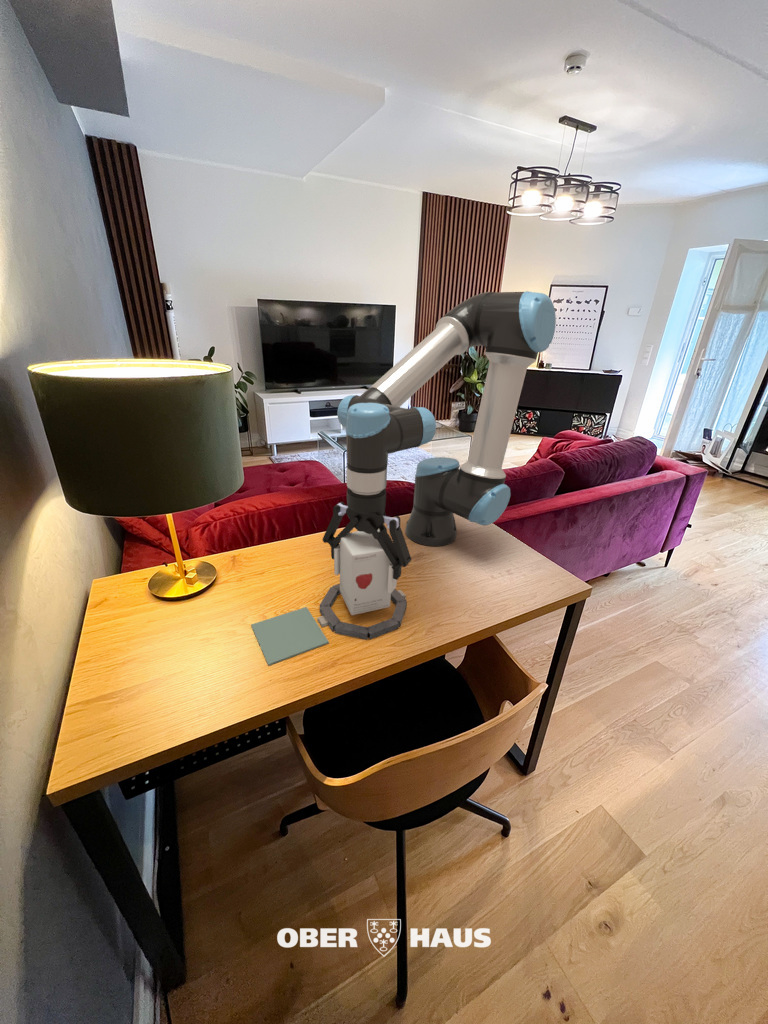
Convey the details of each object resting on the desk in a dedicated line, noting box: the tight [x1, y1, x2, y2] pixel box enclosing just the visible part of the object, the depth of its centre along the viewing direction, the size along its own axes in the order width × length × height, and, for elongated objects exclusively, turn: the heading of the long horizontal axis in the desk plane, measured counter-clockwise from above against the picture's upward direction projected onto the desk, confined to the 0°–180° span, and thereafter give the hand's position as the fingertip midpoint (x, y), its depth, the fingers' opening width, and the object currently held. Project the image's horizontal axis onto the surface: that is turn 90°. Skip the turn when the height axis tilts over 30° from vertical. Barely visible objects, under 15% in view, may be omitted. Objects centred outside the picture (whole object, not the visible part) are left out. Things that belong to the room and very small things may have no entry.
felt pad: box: [250, 606, 330, 667], centre depth 82 cm, size 12×12×1 cm
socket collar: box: [316, 583, 408, 641], centre depth 90 cm, size 21×18×2 cm
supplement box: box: [339, 529, 391, 616], centre depth 86 cm, size 9×9×15 cm
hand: (364, 580), depth 87 cm, fingers closed on supplement box, 12 cm apart
